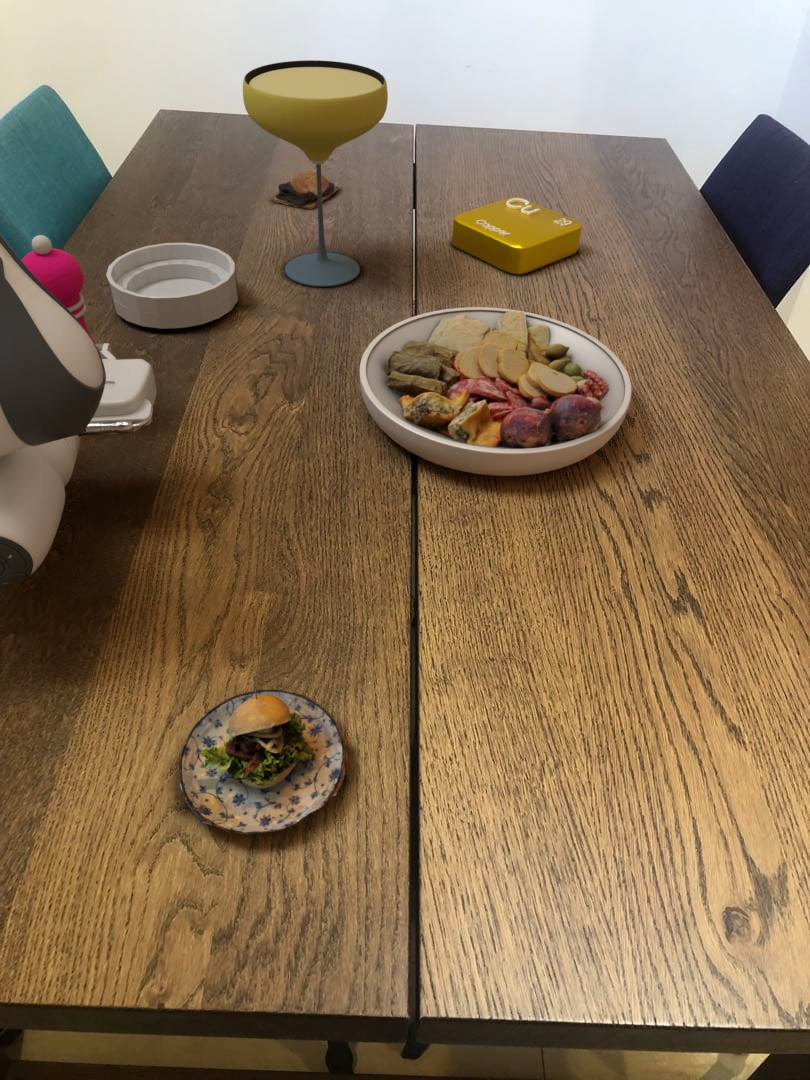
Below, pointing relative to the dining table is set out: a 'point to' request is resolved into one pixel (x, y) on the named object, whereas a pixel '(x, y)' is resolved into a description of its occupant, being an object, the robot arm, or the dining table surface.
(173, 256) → the white ledged dish
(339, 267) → the cocktail glass
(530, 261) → the element tile
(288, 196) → the topped cracker
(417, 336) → the bowl
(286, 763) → the burger
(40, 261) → the pepper mill
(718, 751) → the dining table surface
